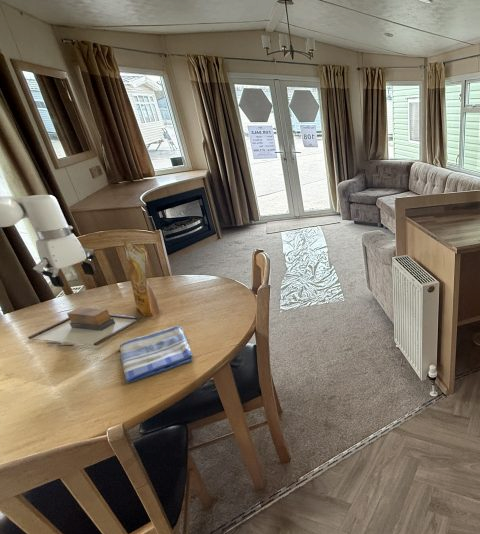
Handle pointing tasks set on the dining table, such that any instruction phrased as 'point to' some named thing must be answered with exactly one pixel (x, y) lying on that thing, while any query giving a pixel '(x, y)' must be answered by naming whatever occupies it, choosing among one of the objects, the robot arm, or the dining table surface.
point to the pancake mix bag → (140, 279)
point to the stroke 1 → (54, 343)
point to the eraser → (90, 318)
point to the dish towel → (154, 353)
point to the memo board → (84, 331)
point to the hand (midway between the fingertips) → (75, 280)
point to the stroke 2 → (65, 345)
